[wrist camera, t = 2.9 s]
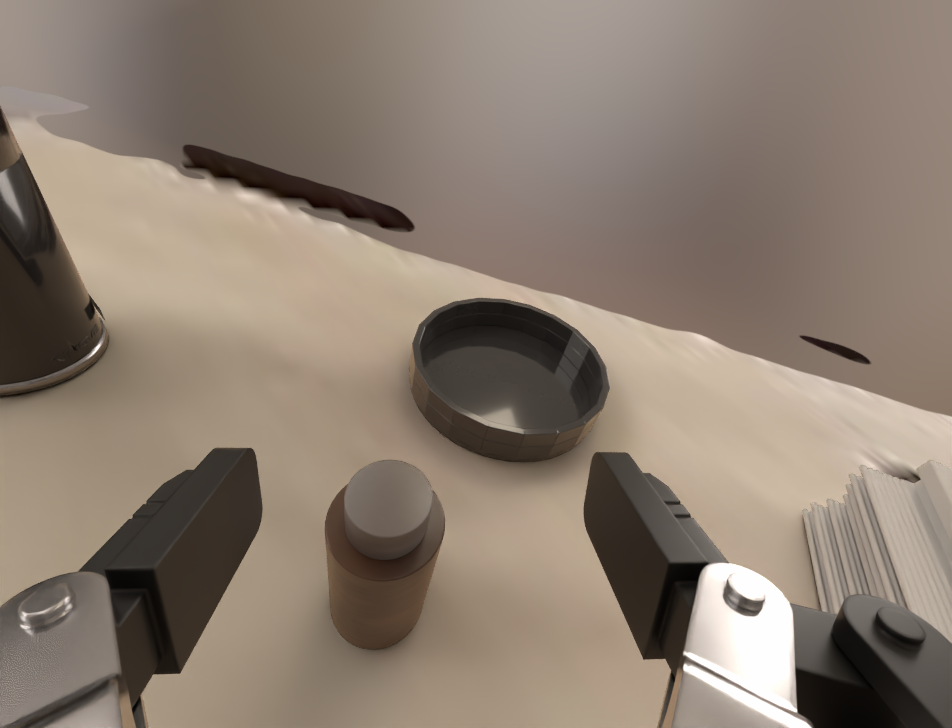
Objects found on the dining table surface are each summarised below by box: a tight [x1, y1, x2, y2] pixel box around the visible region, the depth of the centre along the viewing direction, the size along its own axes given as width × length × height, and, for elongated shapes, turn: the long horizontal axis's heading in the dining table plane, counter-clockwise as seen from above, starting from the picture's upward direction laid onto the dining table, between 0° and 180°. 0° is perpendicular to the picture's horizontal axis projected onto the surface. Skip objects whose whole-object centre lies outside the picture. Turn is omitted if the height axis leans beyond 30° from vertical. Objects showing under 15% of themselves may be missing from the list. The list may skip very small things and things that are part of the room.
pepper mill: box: [325, 460, 445, 649], centre depth 22 cm, size 5×5×11 cm
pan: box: [409, 298, 610, 462], centre depth 40 cm, size 17×17×4 cm
